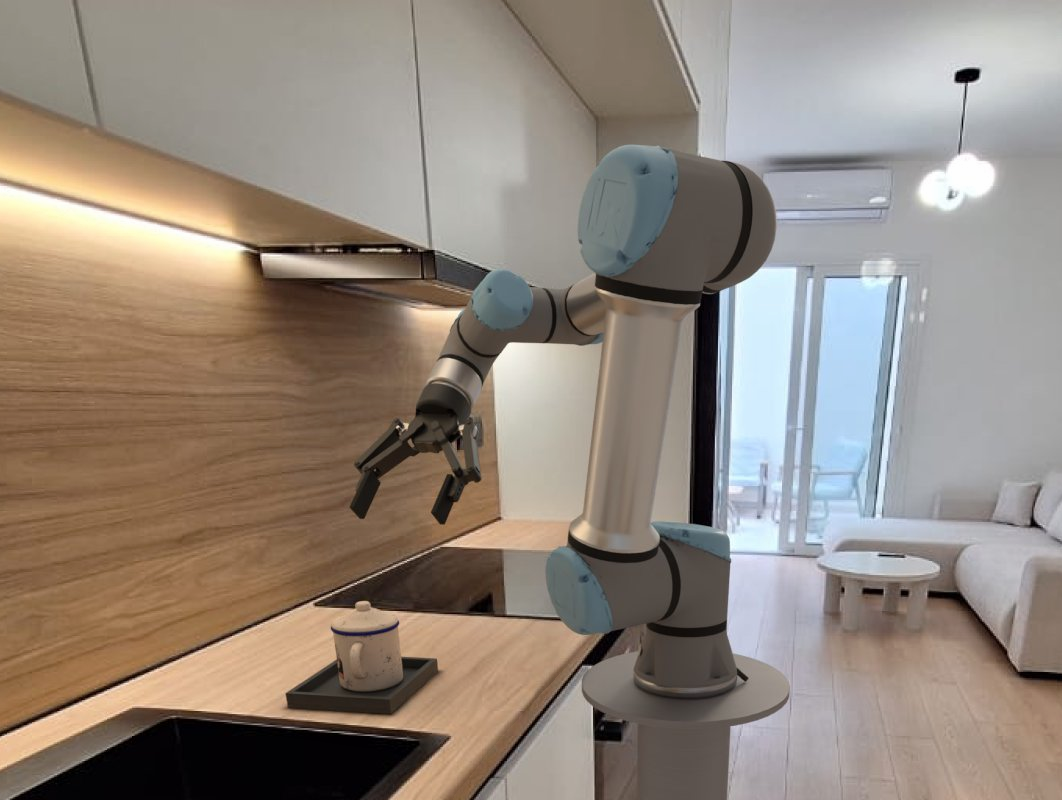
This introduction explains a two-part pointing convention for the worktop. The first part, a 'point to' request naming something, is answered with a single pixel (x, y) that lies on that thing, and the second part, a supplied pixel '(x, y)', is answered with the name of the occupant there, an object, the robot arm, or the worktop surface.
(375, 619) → the teacup with lid
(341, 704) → the base pad
